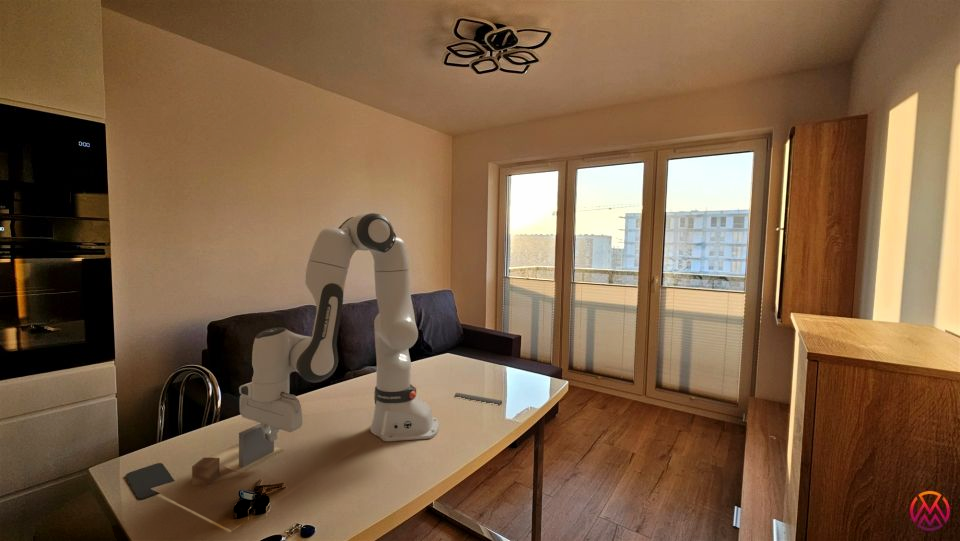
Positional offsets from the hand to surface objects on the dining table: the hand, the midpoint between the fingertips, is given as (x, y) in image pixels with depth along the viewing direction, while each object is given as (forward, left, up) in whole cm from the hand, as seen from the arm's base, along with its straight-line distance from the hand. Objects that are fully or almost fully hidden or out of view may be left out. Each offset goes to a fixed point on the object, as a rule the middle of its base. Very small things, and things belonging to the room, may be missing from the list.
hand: (270, 439), depth 103 cm
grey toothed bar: (-57, -49, -8) cm, 76 cm away
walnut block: (+12, +8, -7) cm, 16 cm away
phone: (+25, +8, -8) cm, 27 cm away
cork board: (+9, -4, -7) cm, 12 cm away
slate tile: (+5, -2, -7) cm, 9 cm away
